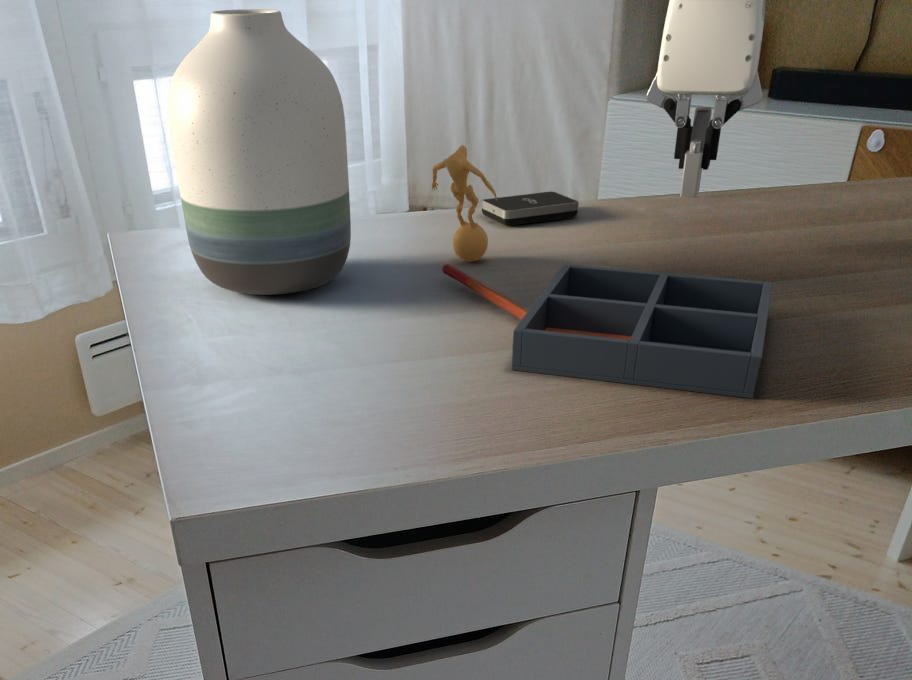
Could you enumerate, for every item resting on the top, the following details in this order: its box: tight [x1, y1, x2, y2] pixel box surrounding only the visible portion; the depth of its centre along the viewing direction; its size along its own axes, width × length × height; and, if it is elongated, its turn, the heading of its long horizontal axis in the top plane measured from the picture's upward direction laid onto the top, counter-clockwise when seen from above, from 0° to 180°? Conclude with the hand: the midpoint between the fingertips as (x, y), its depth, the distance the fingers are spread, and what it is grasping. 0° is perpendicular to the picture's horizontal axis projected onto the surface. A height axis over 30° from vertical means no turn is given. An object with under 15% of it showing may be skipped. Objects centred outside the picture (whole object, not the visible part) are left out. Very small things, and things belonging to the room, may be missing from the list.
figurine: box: [431, 144, 498, 263], centre depth 100 cm, size 8×6×12 cm
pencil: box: [442, 263, 530, 321], centre depth 91 cm, size 19×1×1 cm
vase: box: [167, 8, 352, 296], centre depth 91 cm, size 17×17×24 cm
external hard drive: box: [481, 190, 580, 227], centre depth 119 cm, size 7×11×2 cm, turn 115°
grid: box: [511, 263, 773, 399], centre depth 82 cm, size 20×20×3 cm
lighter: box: [679, 106, 713, 199], centre depth 101 cm, size 7×2×8 cm, turn 161°
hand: (694, 165), depth 102 cm, fingers closed on lighter, 1 cm apart
